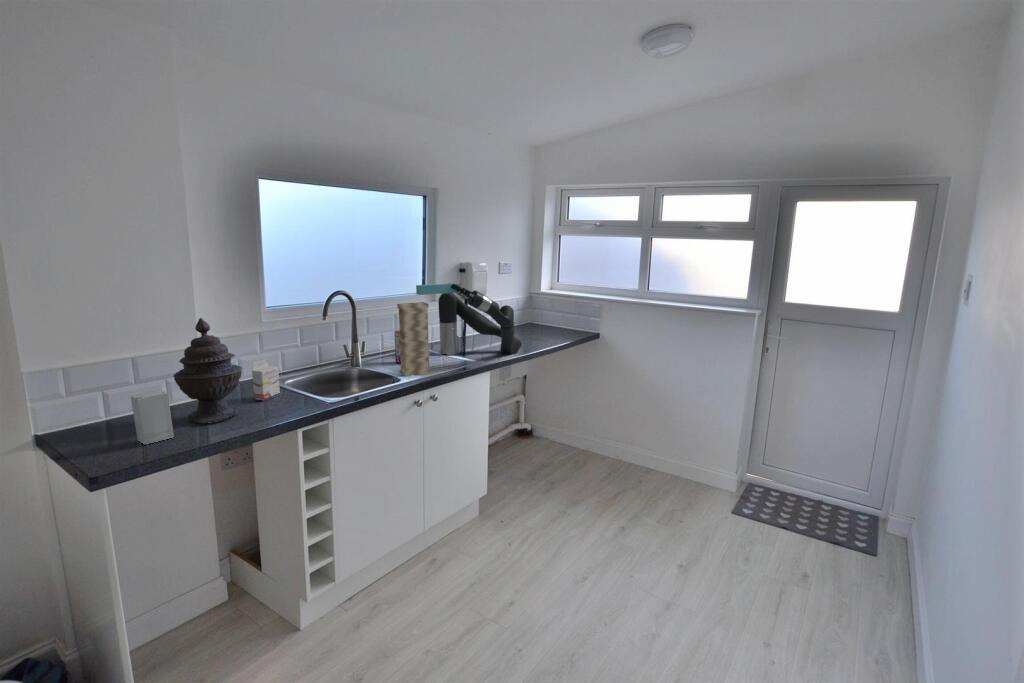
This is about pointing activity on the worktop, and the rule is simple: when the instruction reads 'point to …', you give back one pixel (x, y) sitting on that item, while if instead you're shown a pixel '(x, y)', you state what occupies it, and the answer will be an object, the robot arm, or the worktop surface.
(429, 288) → the rod
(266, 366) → the ink cartridge box
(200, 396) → the decorative urn
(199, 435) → the worktop surface
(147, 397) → the skincare box
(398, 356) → the candy bar box
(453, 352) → the robot arm
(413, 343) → the beige zigzag patterned block
